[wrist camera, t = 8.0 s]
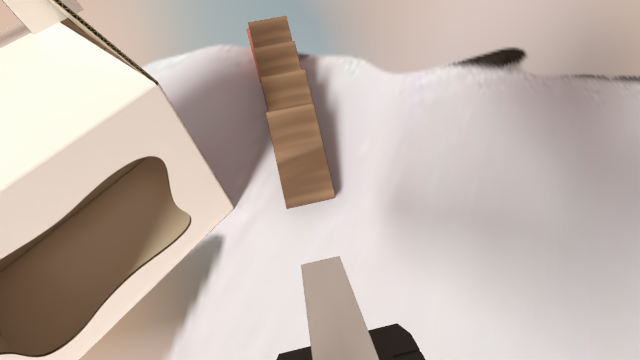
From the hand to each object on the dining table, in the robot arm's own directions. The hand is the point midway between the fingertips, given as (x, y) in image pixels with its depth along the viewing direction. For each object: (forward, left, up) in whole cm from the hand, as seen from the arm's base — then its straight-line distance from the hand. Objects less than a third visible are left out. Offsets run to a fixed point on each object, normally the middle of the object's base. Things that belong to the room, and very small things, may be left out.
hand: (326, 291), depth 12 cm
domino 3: (+12, -19, -17) cm, 28 cm away
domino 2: (+9, -15, -17) cm, 24 cm away
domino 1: (+6, -10, -17) cm, 21 cm away
